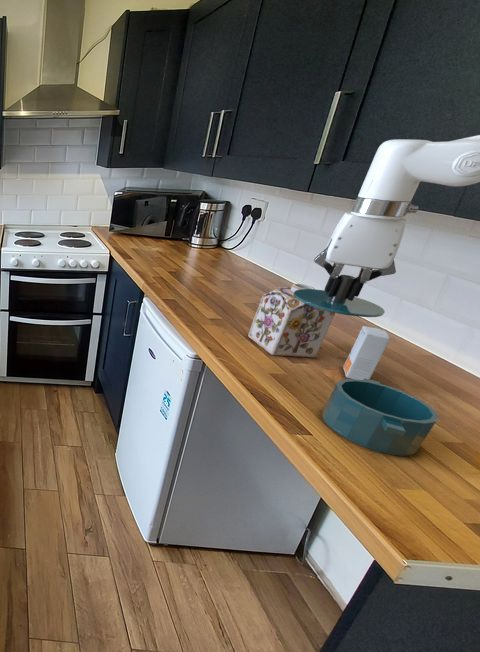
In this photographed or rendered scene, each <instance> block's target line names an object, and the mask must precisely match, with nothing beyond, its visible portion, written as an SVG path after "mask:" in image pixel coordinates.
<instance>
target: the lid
mask: <svg viewBox="0 0 480 652" xmlns="http://www.w3.org/2000/svg"><path fill="white" fill-rule="evenodd" d="M339 276H340V277H339V280H340V281H339V284H338V286H337V288H336V290H335V293H334V295H333V297H328V296H327V294H326V292H327V291H324V289H323V290H322V289H315V288H314V289H300V290H296V291H295V292H294V294H293V295H294V297H295V298H296V299H298V300H299V301H301V302H303V303H306V304H308V305H311V306H314V307H316V308H319V309H322V310H325V311H329V312H333V313H335V314H338V315H345V316H351V317H360V318H380V317H382V316H384V314H385V313H386V312H385V309H384V308H383V307H381V306H380V305H378V304H376V303H374V302H372V301H369V300H366V299H364V298H360V297H354V299H353V301H350V300H348V299H347V297H348V295H349V293H350V291H351V289H352V287H353V284H354V282H355V280H356V276H353V275H348V274H339Z"/></svg>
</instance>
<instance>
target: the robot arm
mask: <svg viewBox="0 0 480 652" xmlns="http://www.w3.org/2000/svg"><path fill="white" fill-rule="evenodd" d="M420 182H424V183H430V184H438V185H443V186H446V187H447V186H448V187H465V186H466V187H467V186H471V185H476V184H477V183H480V134H478V135H473V136H468V137H463V138H459V139H453V140H449V141H431V140H427V139H409V138H407V139H405V138H403V139H401V138H399V139H397V138H396V139H388V140H386V141H383V142H382V143H381V144H380V145H379V147H378V148H377V150H376V151H375V154H374V157H373V159H372V162H371V164H370V166H369V169H368V170H367V173H366V176H365V178H364V181H363V182H362V185H361V188H360V190H359V192H358V195H357V197H356V199H355V202H354V204H353V206H352V208H351V211H350V212H345V213H343V215H342V216H341V218H340V220H339V221H338V223H337V225H336V227H335V228H334V230H333V232H332V234H331V236H330V238H329V240H328V242H327V244H326V246H325V248H324V249H323V250H322V251H321V252H320V253H319V254H318V255H316V256H315V257H314V259H313V262H314V263H315V264H317V265H318V266H320V267H322V268H323V269H324V270H325V271H326V272H327V274H328V275H329V278H328V279H327V281H326V284H325V286H324V289H323V290H324V291H327V292H326V294H327V296H328V297H333V295H334V293H335V290H336V288H337V286H338V284H339V281H340V280H339V277H340V275H341V272H342V271H343V268H344V267H345V266H351V267H356V268H357V267H358V268H360V269H359V273H358V275H357V276H355V278H356V280H355V282H354V284H353V287H352V289H351V291H350V293H349V295H348V297H347V299H348V300H350V301H353V299H354V297H357V298H359V296H360V294H361V291H362V289H363V287H364V285H365V284H367V283H368V282H369V281H372V280H375V279H377V278H379V277H384V276H391V275H395V274H396V273H397V269H396V263H395V257H396V256H397V253H398V251H399V248H400V245H401V242H402V240H403V236H404V234H405V233H404V232H405V229H406V224H407V219H406V218H404V217H406V215H408V214H417V213H418V210H419V205H414V204H412V199H413V197H414V195H415V193H416V191H417V189H418V187H419V185H420ZM331 263H332V264H331Z"/></svg>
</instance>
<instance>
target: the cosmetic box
mask: <svg viewBox="0 0 480 652" xmlns="http://www.w3.org/2000/svg"><path fill="white" fill-rule="evenodd" d="M390 340H391V337H390V336H389V333H387V331H386V330H385V329H381V328H376V327H371V326H366V325H363V326H362V327H361V329H360V331H359V333H358V335H357V338H356V339H355V342H354V343H353V346H352V348H351V350H350V352H349V354H348V356H347V358H346V360H345V362H344V364H343V366H342V369H343V370H344V375H345V377H346V378H347V379H357V380H364V378H365V379H369V380H371V378H372V376H373V374H374V372H375V370H376V368H377V366H378V364H379V362H380V360H381V359H382V357H383V355H384V354H385V353H384V352H385V351H386V349H387V347H388V345H389V343H390Z"/></svg>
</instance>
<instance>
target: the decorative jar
mask: <svg viewBox="0 0 480 652" xmlns="http://www.w3.org/2000/svg"><path fill="white" fill-rule="evenodd" d="M300 289H315V287H313V286H311V285H307V284H302V283H293V284H292V286H278V287H276V288H273V289H271V290H269V291H268V292H266V293H264V294H262V296H261V299H260V302H259V305H258V307H257V309H256V312H255V315H254V317H253V319H252V323H251V326H250V327H249V328H250V329H249V332H248V335H247V337H248V338H249V339H251V340H252V341H253V342H254V343H255V344H257V345H258V346H260V347H261V348H262V349H263V350H265V351H266V352H267V353H269V354H270V355H272V356H280V357H297V358H298V357H299V358H316V357H317V355H318V352H319V350H320V348H321V347H322V344H323V342H324V340H325V338H326V335H327V334H328V331H329V328H330V326H331V324H332V322H333V320H334V317H335V315H336V313H333V312H329V311H325V310H322V309H319V308H316V307H314V306H311V305H308V304H306V303H303V302H301V301H299V300H298V299H296V298H295V297H294V295H293V294H294V292H295V291H296V290H300Z"/></svg>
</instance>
